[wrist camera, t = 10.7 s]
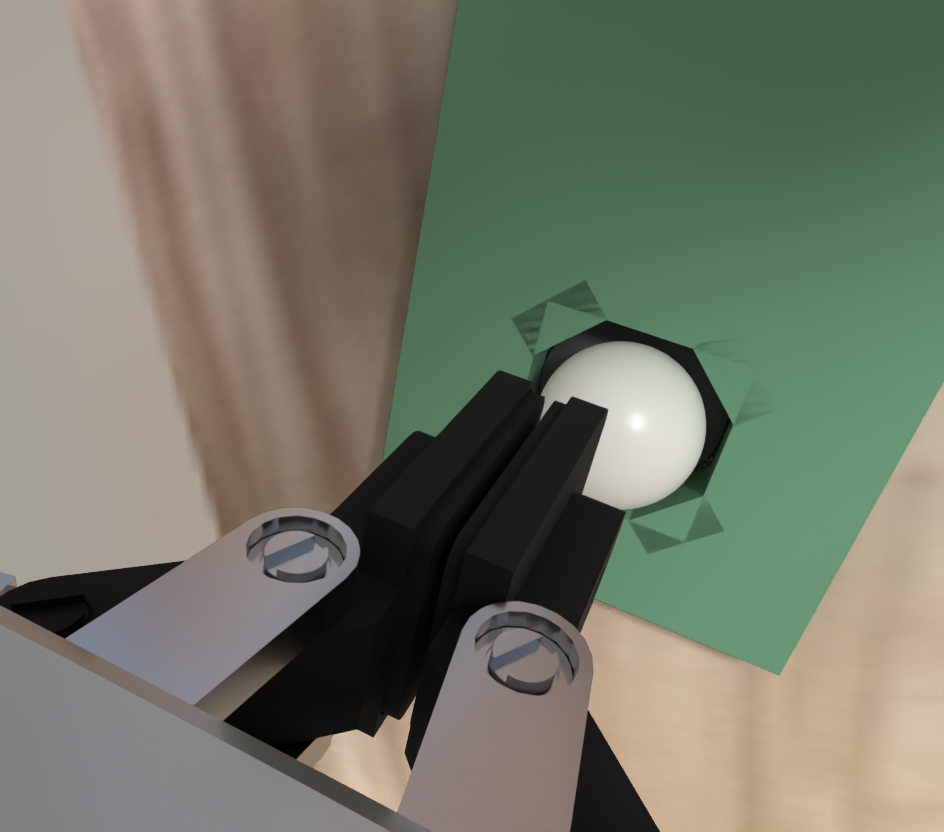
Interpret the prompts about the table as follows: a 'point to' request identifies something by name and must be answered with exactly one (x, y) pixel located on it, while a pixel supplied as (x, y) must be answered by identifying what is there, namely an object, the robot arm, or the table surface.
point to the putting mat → (700, 266)
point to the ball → (635, 420)
